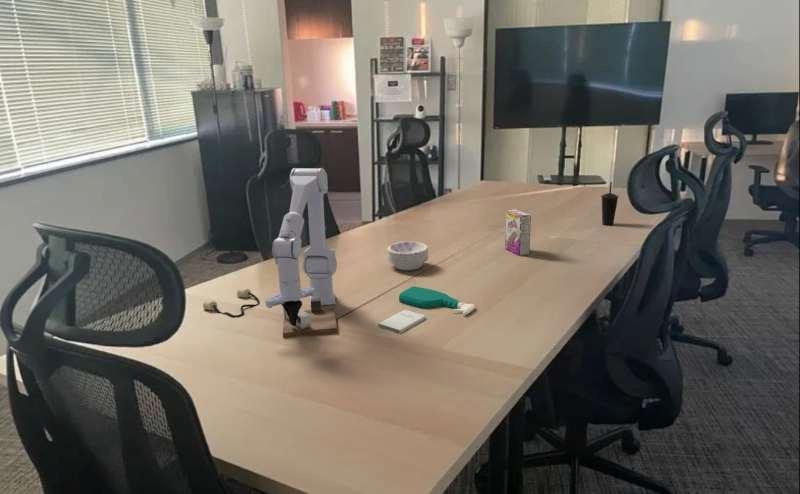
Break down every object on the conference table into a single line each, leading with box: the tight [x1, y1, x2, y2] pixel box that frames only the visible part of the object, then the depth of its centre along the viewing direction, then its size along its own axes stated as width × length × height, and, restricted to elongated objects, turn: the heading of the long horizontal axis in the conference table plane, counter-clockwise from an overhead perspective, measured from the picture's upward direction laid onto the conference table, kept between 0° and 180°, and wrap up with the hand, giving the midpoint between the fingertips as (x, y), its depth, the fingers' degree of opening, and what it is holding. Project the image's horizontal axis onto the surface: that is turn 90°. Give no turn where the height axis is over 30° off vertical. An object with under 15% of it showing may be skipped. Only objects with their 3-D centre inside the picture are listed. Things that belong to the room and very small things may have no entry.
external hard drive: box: [377, 309, 427, 334], centre depth 164 cm, size 2×8×12 cm
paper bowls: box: [387, 241, 429, 271], centre depth 212 cm, size 15×15×8 cm
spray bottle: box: [398, 285, 476, 317], centre depth 176 cm, size 3×11×24 cm
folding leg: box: [282, 307, 311, 329], centre depth 163 cm, size 12×3×4 cm, turn 36°
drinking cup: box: [600, 181, 619, 227], centre depth 262 cm, size 8×8×20 cm
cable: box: [202, 287, 261, 318], centre depth 180 cm, size 16×16×4 cm
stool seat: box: [282, 298, 338, 339], centre depth 164 cm, size 15×15×5 cm
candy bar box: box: [504, 208, 532, 257], centre depth 225 cm, size 11×5×16 cm, turn 22°
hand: (293, 324), depth 159 cm, fingers closed
